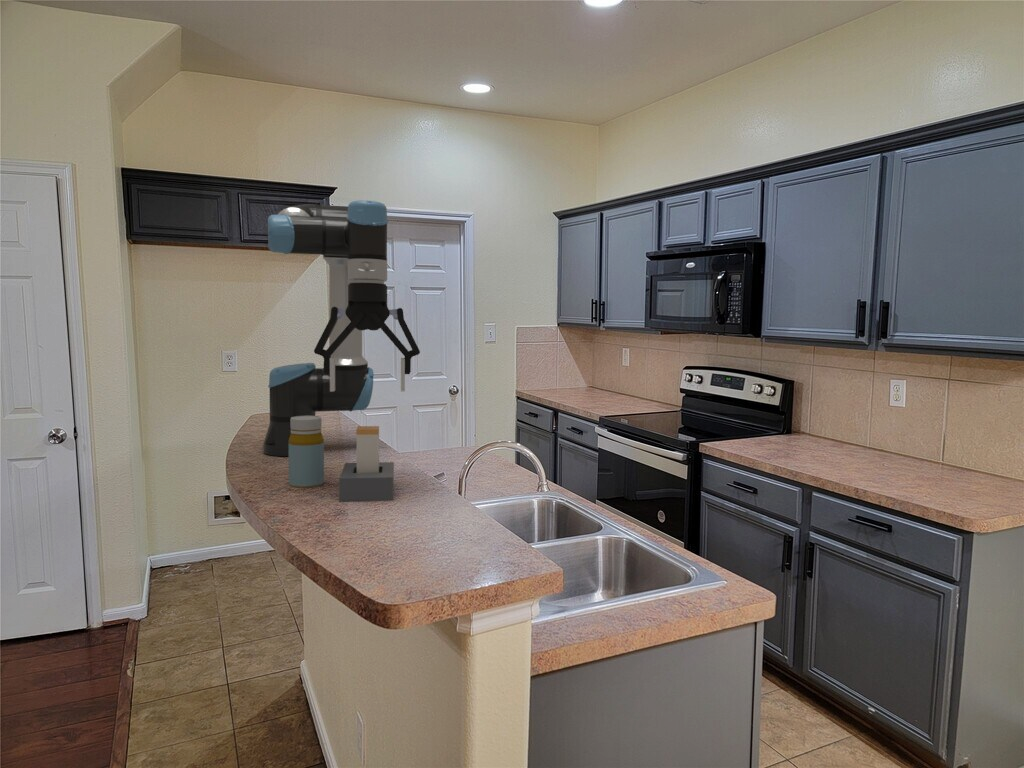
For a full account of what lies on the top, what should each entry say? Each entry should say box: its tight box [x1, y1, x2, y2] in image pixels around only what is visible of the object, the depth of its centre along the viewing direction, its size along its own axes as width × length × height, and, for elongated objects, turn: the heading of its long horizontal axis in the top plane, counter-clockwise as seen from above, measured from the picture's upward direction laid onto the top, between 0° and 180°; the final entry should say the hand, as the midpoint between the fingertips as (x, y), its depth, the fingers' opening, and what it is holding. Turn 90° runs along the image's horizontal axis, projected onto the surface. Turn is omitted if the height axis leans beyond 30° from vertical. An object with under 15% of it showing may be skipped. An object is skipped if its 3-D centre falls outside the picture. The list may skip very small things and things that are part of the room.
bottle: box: [288, 415, 325, 489], centre depth 140 cm, size 7×7×15 cm
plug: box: [356, 425, 380, 473], centre depth 135 cm, size 4×4×13 cm
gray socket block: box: [338, 461, 395, 503], centre depth 135 cm, size 14×10×6 cm
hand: (368, 391), depth 133 cm, fingers open, 13 cm apart
